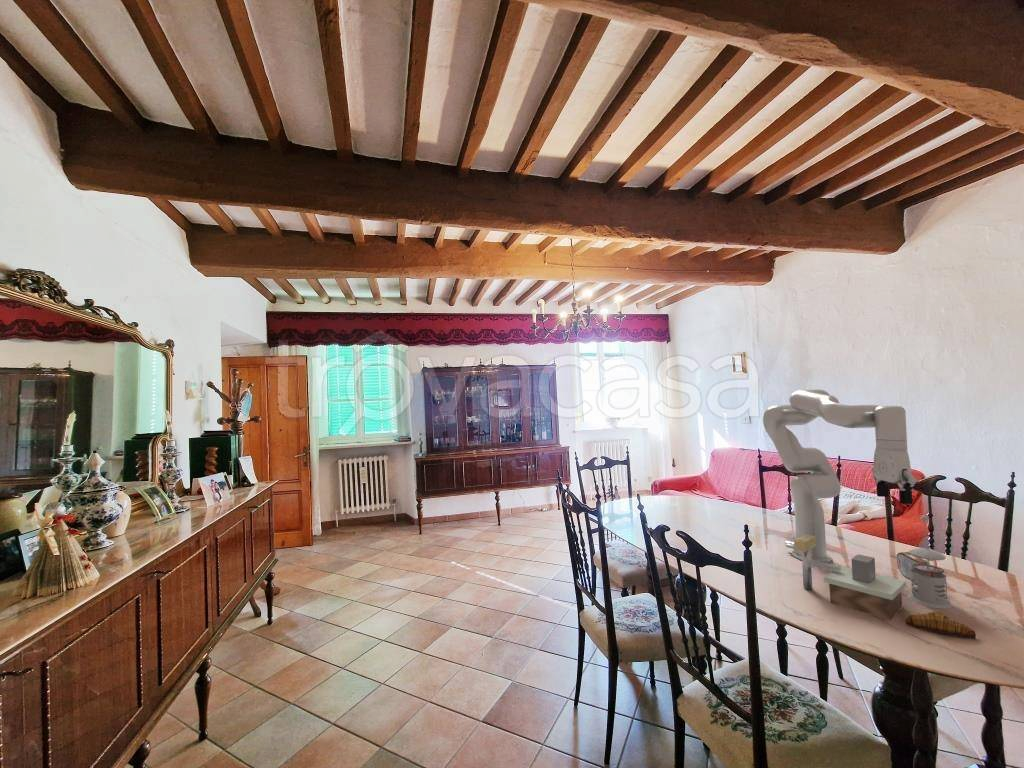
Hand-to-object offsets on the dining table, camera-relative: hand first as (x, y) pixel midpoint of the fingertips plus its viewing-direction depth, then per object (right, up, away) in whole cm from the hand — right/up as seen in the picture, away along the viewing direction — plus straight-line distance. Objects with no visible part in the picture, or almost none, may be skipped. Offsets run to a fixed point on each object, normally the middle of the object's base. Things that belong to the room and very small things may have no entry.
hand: (894, 499), depth 139 cm
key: (-22, -29, 0) cm, 37 cm away
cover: (-16, -23, -8) cm, 29 cm away
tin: (+13, -29, +7) cm, 32 cm away
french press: (+5, -28, -6) cm, 30 cm away
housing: (-16, -29, -8) cm, 34 cm away
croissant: (-9, -28, -24) cm, 38 cm away
